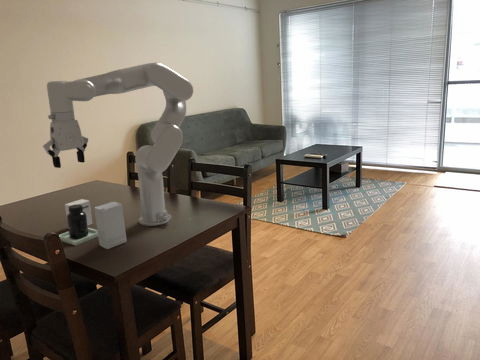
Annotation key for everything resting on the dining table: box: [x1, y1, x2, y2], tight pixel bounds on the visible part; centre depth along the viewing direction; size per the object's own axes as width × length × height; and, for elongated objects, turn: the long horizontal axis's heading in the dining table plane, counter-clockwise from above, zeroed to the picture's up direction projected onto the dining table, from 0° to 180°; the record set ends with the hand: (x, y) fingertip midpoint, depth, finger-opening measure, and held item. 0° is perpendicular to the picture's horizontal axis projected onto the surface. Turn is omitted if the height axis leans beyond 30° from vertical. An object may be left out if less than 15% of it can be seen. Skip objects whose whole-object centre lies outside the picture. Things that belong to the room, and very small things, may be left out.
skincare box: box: [93, 201, 128, 250], centre depth 144 cm, size 8×6×15 cm
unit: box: [64, 198, 93, 226], centre depth 164 cm, size 6×8×10 cm
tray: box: [58, 227, 98, 247], centre depth 153 cm, size 12×12×2 cm
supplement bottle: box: [66, 204, 89, 239], centre depth 152 cm, size 7×7×12 cm
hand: (69, 164), depth 146 cm, fingers open, 9 cm apart
